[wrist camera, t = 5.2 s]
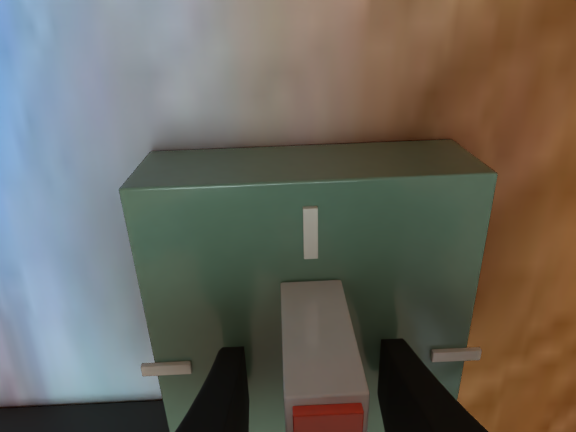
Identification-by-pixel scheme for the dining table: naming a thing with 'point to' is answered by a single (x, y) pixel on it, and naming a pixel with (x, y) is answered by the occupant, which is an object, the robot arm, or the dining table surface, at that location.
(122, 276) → the dining table surface
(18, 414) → the button housing
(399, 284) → the panel
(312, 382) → the white rectangular block
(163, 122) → the dining table surface
